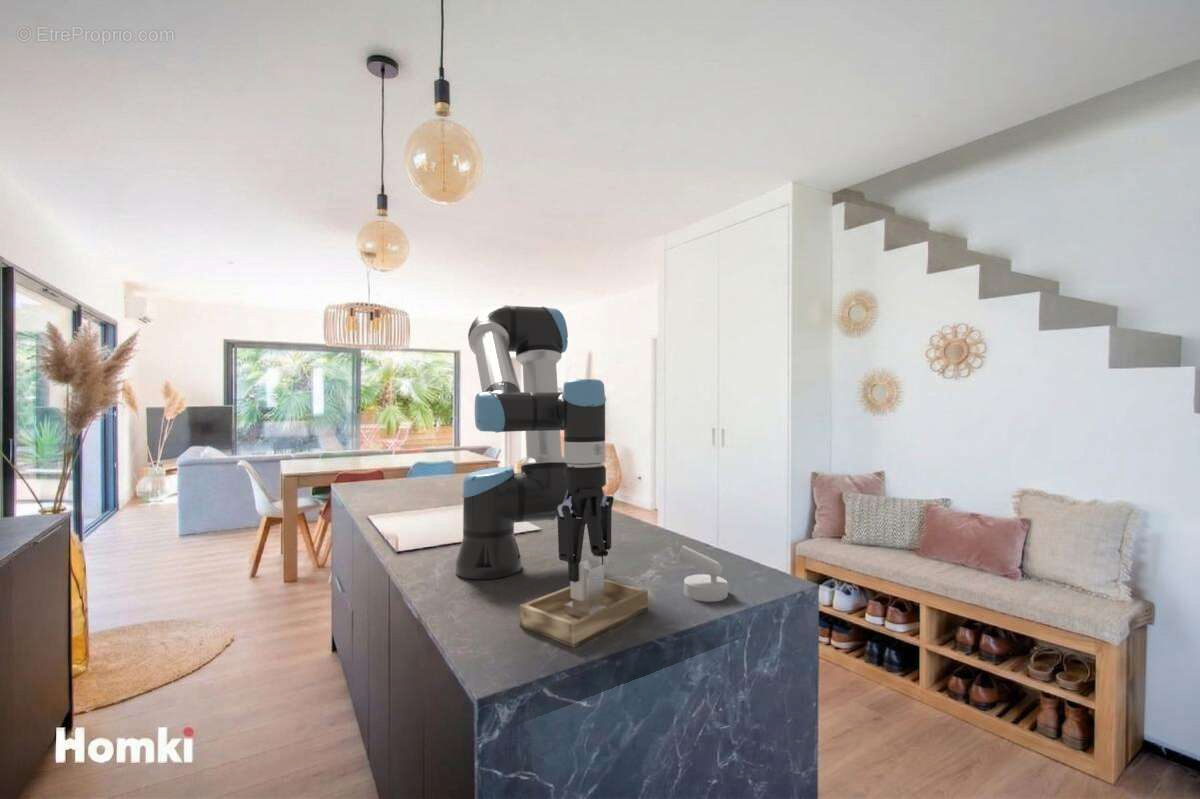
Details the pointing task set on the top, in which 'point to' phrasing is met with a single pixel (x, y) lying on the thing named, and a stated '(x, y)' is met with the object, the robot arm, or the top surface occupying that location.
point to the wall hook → (703, 577)
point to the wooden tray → (573, 631)
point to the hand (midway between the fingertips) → (586, 594)
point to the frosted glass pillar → (589, 591)
